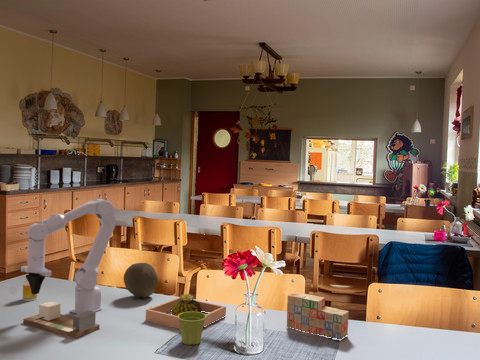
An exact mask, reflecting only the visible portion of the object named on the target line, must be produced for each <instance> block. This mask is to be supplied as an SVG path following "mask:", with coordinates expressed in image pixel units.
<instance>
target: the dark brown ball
mask: <svg viewBox="0 0 480 360" xmlns="http://www.w3.org/2000/svg"><path fill="white" fill-rule="evenodd" d="M158 282H159V280H158V274H157V272H156V270H155V268H154V266H152V265H151V264H150V263H147V262H136V263H133V264H131V265H130V266H128V268H127V269H126V270H125V272H124V274H123V283H124V286H125V288H126V289H127V291H128V292H129V293H131V294H132V295H133V296H135V297H138V298H148V297H150V296H151V295H153V294H154V293H155V291H156V289H157V286H158Z"/></svg>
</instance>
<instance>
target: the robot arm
mask: <svg viewBox="0 0 480 360" xmlns="http://www.w3.org/2000/svg"><path fill="white" fill-rule="evenodd" d="M86 215H95V216H97V218H98V221H99V222H100V226H99V229H98V231H97V233H96V235H95V238H94V240H93V243H92V246H91V247H90V250H89V252H88V255H87V257H86V259H85V261H84V262H83V263H82V264H81V266H80V268H79V269H78V270H77V271H75V274H74V275H73V279H74V283H76V285H75V287H74V288H75V289H74V291H75V292H74V308H73V309H71V310H70V309H69V312H70V313H74V314H75V315H77V314H80V313H83V312H86V311H89V310H90V311H94V312H98V311H102V310H103V308H102V307H101V305H102V304H101V303H102V292H101V289H100V288H99V287H98V286H97V283H98V281H97V278H98V274H99V265H100V263H101V260H102V258H103V255H104V253H105V251H106V249H107V246H108V244H109V242H110V240H111V236H112V234H113V232H114V230H115V228H116V225H117V221H116V219H117V218H116V207H115V206H114V203H112V202H111V201H110V200H108V199H103V198H99V197H98V198H95V199H94V200H89V201H87V202H85V203H84V204H83V203H82V204H80V205H78V206H77V207H75V208H74V209H71V210H70V211H68V212H66V213H63V214H62V213H61V214H60V213H51V214H50V217H48V218H45V219H43V220H42V219H39V220H38V223H36V222H35V223H32V224H30V225H29V226H28V228H27V230H26V235H27V236H28V243H27V265H22V266H20V272H23V273H26V275H25V276H26V278H27V280H28V282H29V285H30V288H31V292H32V294H37V295H38V294H40V291H41V287H42V284H43V282H44V280H45V279H46V278H49V277H52V270H50V269H48V268H46V267H45V264H46V263H45V259H46V257H45V256H46V243H45V241H46V240H45V239H46V238H47V236H49V235H52V234H53V233H56V232H58V231H60V230H61V229H64V228H65V227H66V225H67V223H69V222H71V221H73V220H76V219H78V218H81V217H83V216H86ZM27 273H28V274H27Z"/></svg>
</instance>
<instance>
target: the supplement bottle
mask: <svg viewBox="0 0 480 360" xmlns="http://www.w3.org/2000/svg"><path fill="white" fill-rule="evenodd" d="M24 280H25V281H23V283H22V301H24V302H25V301H26V302H32V301H36V300H37V298H38V294H32V292H31V288H30V285H29V282H28V280H27V278H26V275H25V277H24Z"/></svg>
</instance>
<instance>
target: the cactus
mask: <svg viewBox="0 0 480 360" xmlns="http://www.w3.org/2000/svg"><path fill="white" fill-rule="evenodd" d="M180 299H181V300H179V301H178V302H175V304H174V303H173V304H174V305H172V306H173V307H172V311H171V313H170V312H169V314H172V315H175V316H178V315H179V314H180V313H183V312H201V311H202V310H201V305H199V302H198V301H199V300H197V301H195V300H196V299H194V296H193V294H190V293H184V294H181V295H180ZM201 313H202V312H201ZM204 314H205V315H206V313H204Z"/></svg>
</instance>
